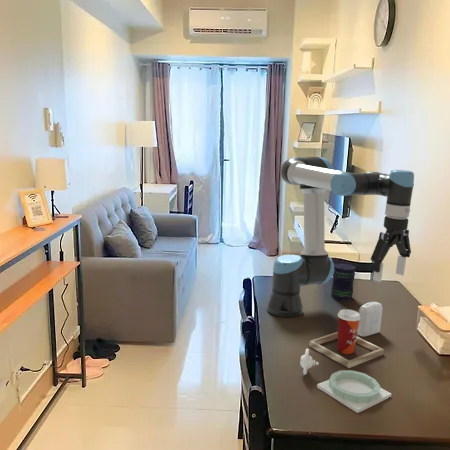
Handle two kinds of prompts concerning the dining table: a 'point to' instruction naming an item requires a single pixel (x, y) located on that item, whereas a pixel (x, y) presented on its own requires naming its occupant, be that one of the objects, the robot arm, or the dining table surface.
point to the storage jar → (343, 281)
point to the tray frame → (348, 363)
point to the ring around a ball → (307, 362)
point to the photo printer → (370, 319)
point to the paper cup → (347, 330)
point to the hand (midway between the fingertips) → (388, 277)
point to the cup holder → (354, 389)
